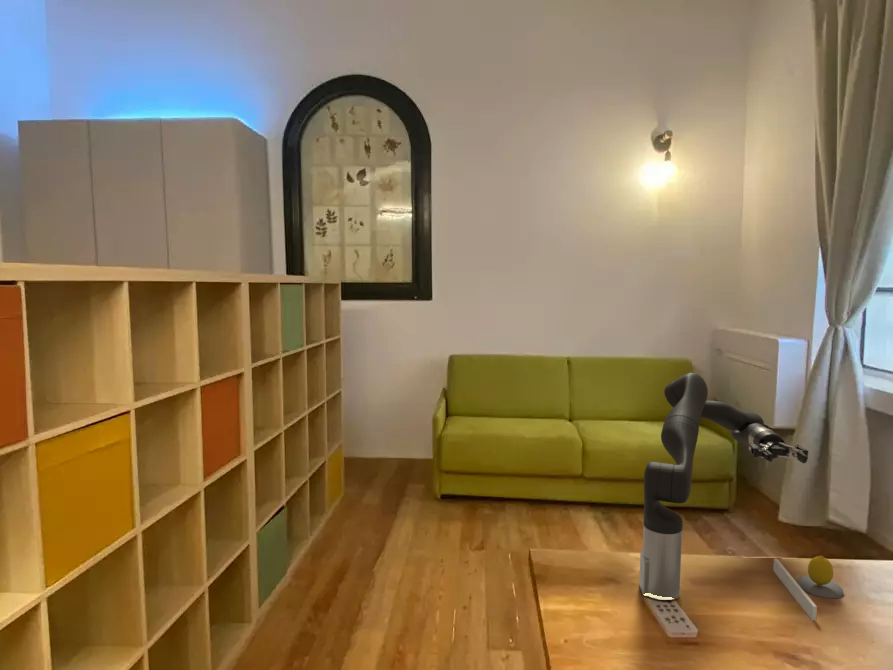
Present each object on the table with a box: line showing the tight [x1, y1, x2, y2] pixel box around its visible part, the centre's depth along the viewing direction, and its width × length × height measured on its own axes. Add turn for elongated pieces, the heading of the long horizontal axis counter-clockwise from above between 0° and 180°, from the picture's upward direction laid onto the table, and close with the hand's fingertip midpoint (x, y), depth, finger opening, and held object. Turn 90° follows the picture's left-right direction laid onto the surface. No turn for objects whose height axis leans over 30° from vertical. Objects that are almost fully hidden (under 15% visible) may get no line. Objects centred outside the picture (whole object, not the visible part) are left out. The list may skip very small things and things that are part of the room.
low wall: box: [772, 558, 818, 622], centre depth 156 cm, size 1×24×4 cm, turn 172°
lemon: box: [807, 555, 834, 586], centre depth 159 cm, size 6×6×8 cm
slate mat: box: [797, 575, 844, 600], centre depth 159 cm, size 10×10×1 cm
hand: (787, 459), depth 169 cm, fingers open, 8 cm apart
